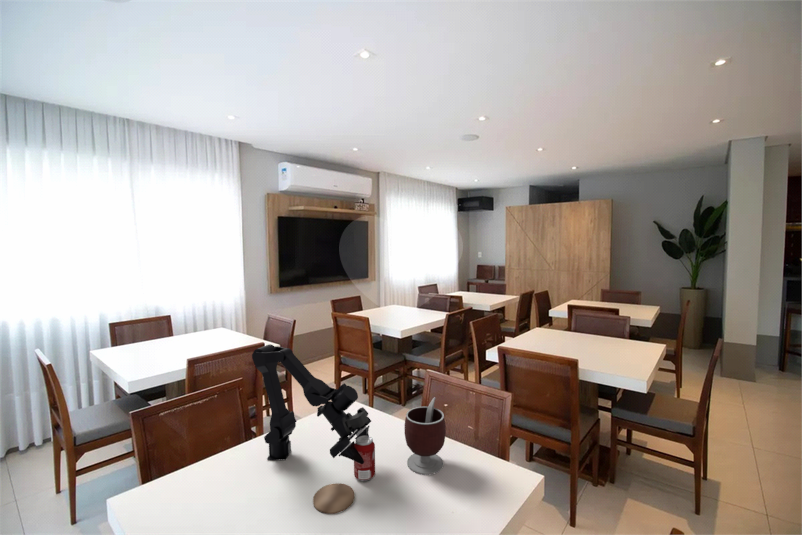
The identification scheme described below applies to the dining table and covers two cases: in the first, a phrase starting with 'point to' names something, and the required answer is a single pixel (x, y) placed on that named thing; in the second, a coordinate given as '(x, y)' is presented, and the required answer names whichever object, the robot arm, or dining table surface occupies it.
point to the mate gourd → (425, 438)
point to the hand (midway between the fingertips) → (368, 457)
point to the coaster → (333, 498)
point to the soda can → (365, 458)
